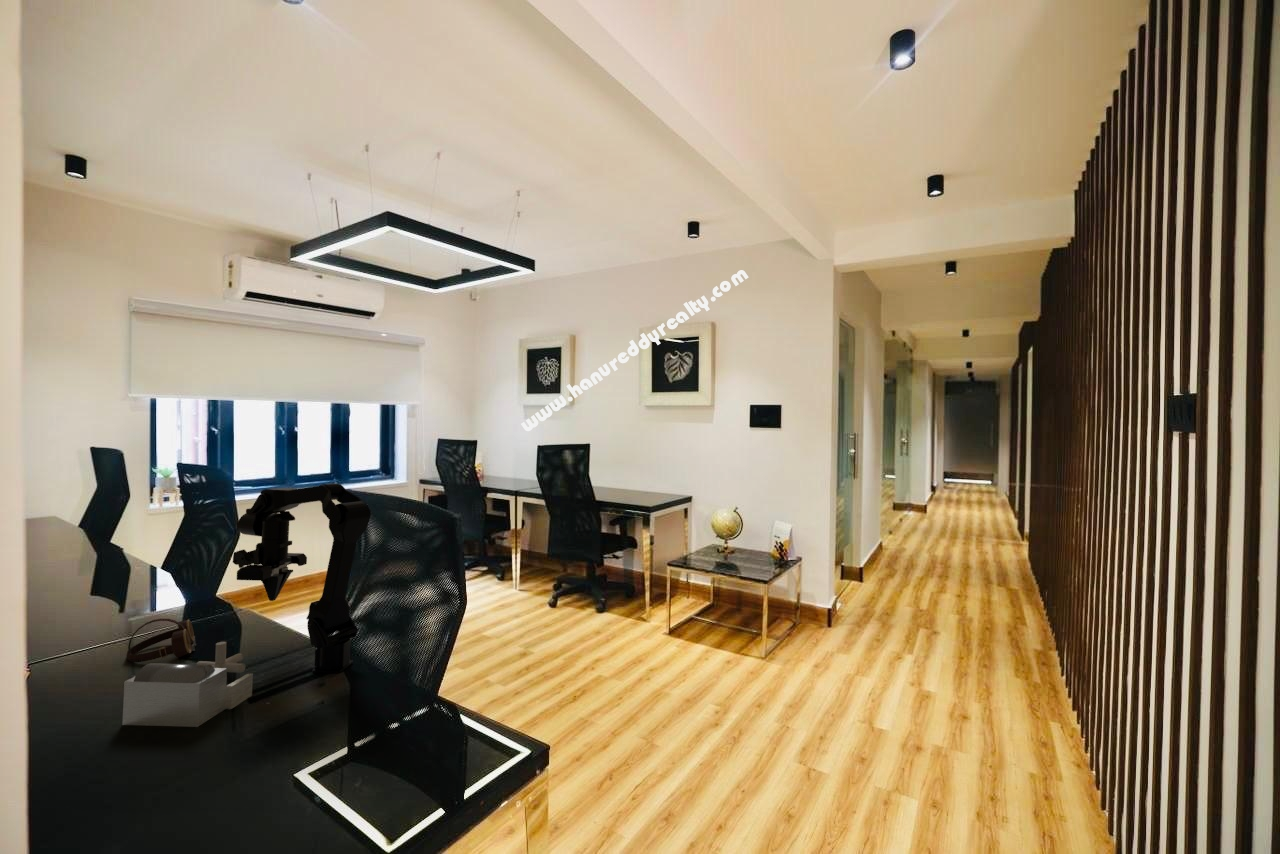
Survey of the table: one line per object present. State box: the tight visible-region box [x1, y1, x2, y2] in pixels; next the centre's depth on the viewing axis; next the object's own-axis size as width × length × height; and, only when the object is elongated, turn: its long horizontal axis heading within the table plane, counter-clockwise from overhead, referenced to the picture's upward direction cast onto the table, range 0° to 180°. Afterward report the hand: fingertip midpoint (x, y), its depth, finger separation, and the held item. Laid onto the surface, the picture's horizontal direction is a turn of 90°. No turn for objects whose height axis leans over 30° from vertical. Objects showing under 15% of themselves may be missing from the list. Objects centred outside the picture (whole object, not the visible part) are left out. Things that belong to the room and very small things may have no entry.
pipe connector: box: [196, 641, 247, 674], centre depth 120 cm, size 10×10×10 cm
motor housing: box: [121, 662, 254, 728], centre depth 111 cm, size 17×13×10 cm
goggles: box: [126, 618, 197, 663], centre depth 138 cm, size 15×13×10 cm
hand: (272, 600), depth 141 cm, fingers closed
